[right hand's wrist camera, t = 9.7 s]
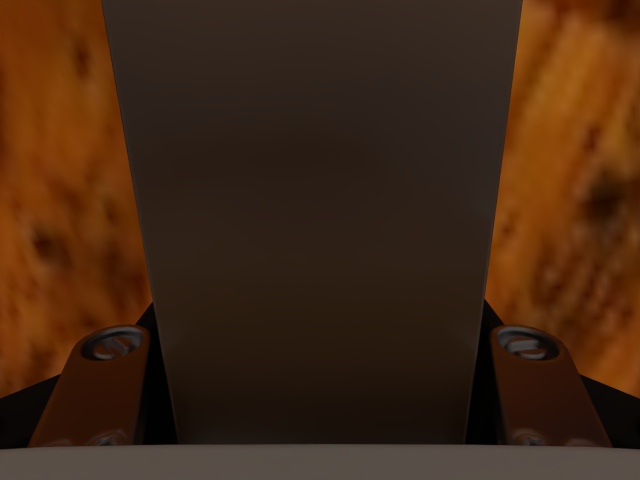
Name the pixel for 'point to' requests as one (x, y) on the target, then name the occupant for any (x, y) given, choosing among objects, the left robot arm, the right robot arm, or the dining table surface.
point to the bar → (316, 208)
